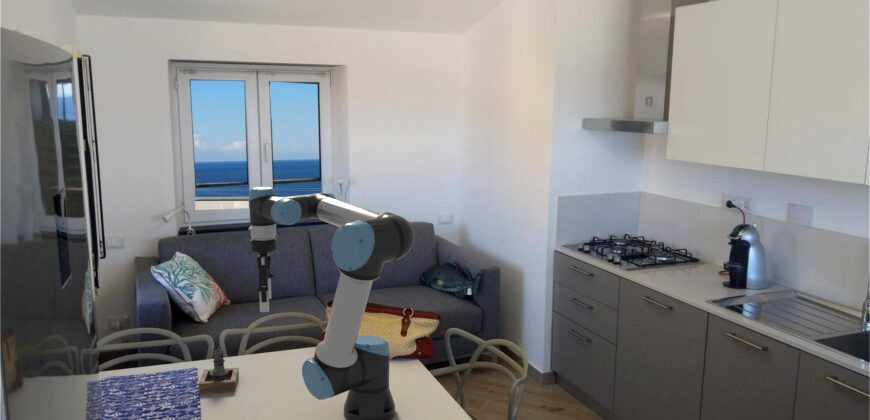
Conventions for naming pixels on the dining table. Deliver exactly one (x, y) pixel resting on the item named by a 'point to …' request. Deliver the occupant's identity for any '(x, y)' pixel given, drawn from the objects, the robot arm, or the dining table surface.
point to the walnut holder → (218, 382)
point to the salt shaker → (219, 367)
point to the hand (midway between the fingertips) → (265, 305)
